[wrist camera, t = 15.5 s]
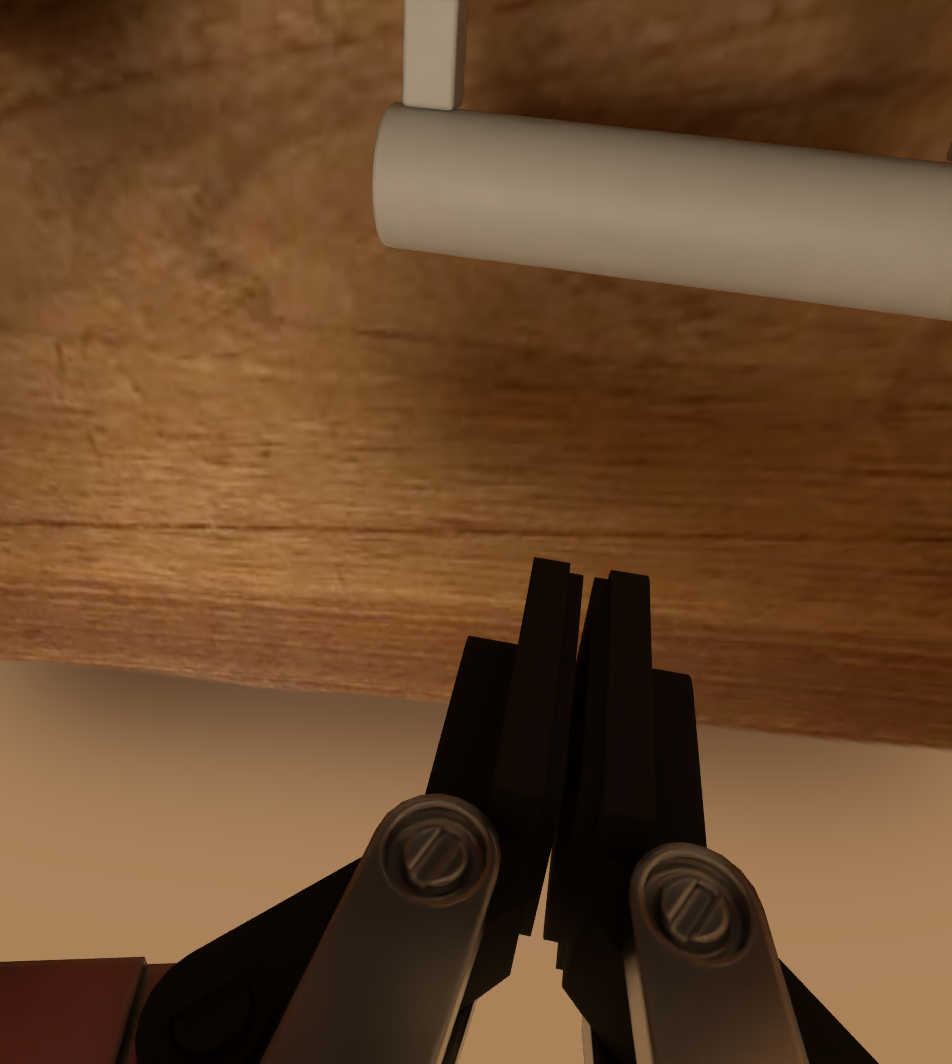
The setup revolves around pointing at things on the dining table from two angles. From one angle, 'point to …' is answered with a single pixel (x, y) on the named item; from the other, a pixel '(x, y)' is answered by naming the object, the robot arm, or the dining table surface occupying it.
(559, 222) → the drawer
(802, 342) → the dining table surface
